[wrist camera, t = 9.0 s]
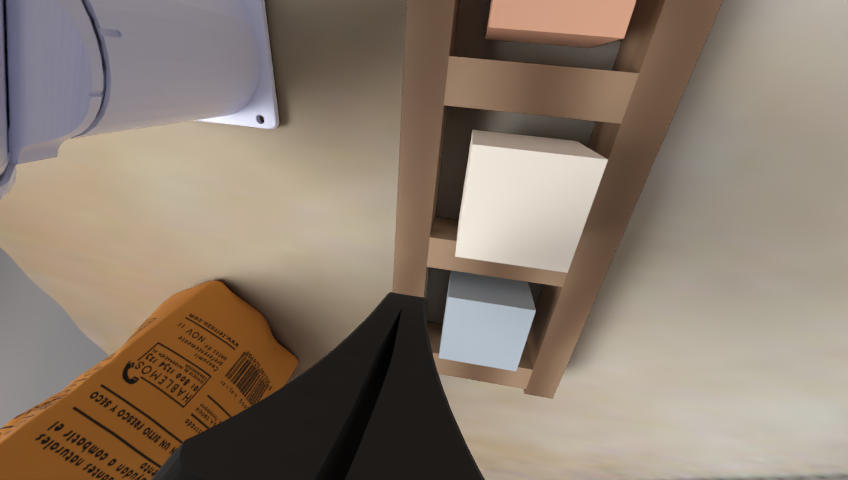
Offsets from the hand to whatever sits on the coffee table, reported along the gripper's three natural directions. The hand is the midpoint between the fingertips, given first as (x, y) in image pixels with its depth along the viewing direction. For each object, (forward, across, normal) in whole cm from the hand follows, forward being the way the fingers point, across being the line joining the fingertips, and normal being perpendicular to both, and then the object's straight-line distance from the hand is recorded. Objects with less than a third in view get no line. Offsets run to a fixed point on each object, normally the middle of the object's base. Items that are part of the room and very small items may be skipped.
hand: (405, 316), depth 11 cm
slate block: (+10, -4, +6) cm, 12 cm away
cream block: (+8, -4, -3) cm, 9 cm away
